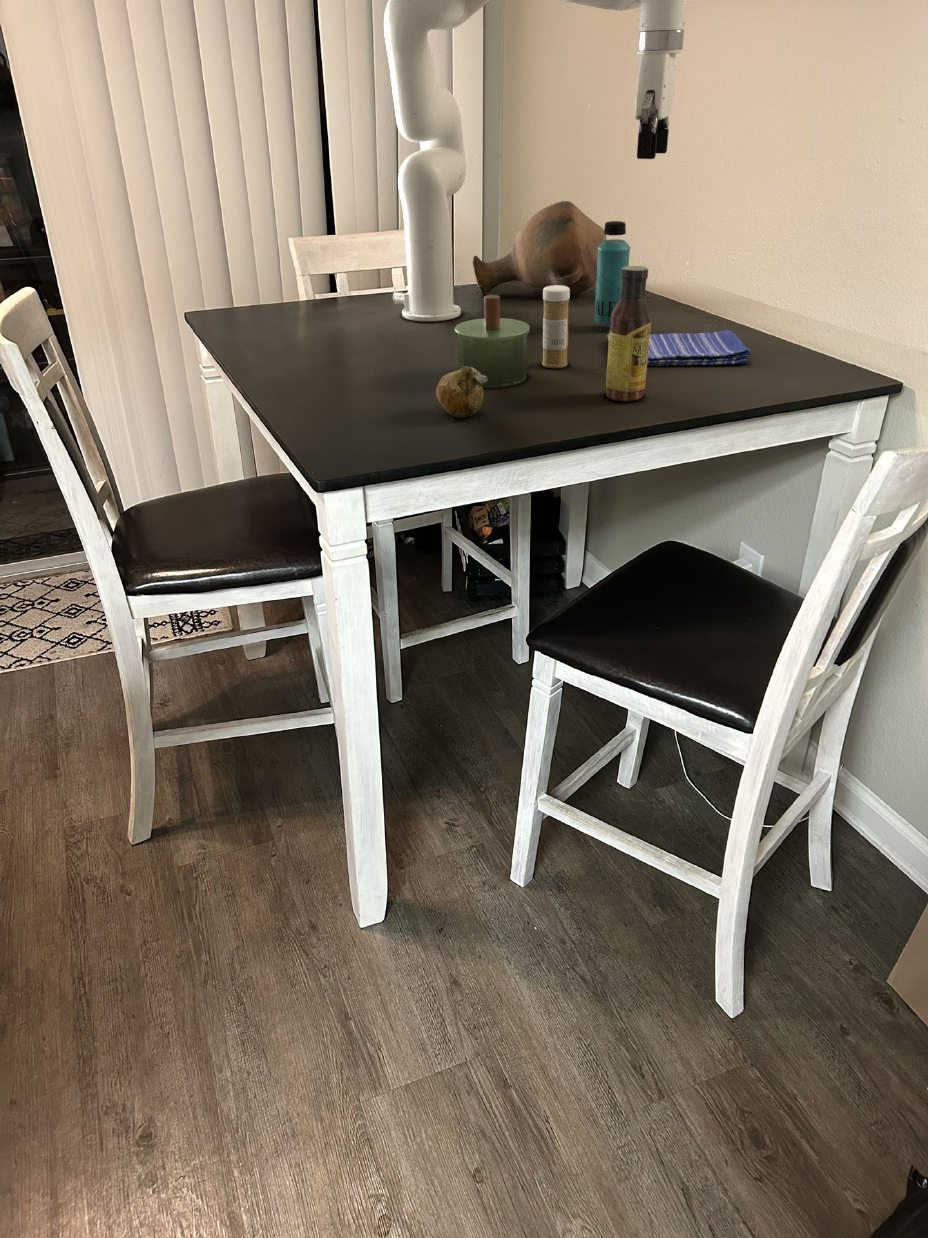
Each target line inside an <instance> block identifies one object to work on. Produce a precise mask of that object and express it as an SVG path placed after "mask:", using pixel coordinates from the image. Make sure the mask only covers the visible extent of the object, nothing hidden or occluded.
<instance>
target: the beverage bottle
mask: <svg viewBox="0 0 928 1238" xmlns="http://www.w3.org/2000/svg"><path fill="white" fill-rule="evenodd" d="M626 225H627V224H626V222H624V221H619V220H612V221H610V220H609V221H606V222H605V223H604V228H603V229H604V234H605V235H606V236H623V235H626V234H627V230H626V229H627V228H626ZM630 253H631V246H630V244H629V243H628V242H627V241H626V240H624V239H616V238H612V239H611V238H610V239H606V240H604V241H603V242H602V243H601V244H600V245H599V246H598V260H597V264H596V265H597V268H596V272H597V274H596V276H597V277H596V281H595V290H594V293H595V297H594V305H593V312H594V314H593V320H594V322H595V323H596V324H599V325H603V326H611V316H612V312H613V310H614V308H615V306H616V305H617V304H618V302H619V300H620V298H621V297H620V293H621V283H622V279H621V268H623V267H626V266H630Z"/></svg>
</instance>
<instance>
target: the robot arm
mask: <svg viewBox="0 0 928 1238" xmlns="http://www.w3.org/2000/svg"><path fill="white" fill-rule="evenodd" d="M490 1H491V0H388V1H387V3H386V7H385V10H384V16H383V31H384V41H385V46H386V52H387V59H388V65H389V73H390V83H391V90H392V91H391V92H392V98H393V105H394V112H395V121H396V126H397V129H398V131H399V133H400V135H401V136H402V137H403V138H404V139H405V140H407V141H408V142H411V143H419V146H420V150H418V151H415V152H412V153H411V154H410V155H408V156H407V157H406V158H405V159H404V161H403V162H402V163H401V165H400V168H399V172H398V176H397V177H398V178H397V184H398V193H399V197H400V202H401V207H402V213H403V223H404V239H405V255H406V274H407V275H406V276H407V292H406V293H403V292H393V294H392V301H393V304H396V305H403V306H404V307H403V308H402V311H401V314H402V315H401V316H402V317H403V318H404V319H406V320H410V321H414V322H425V323H426V322H427V323H429V322H432V323H433V322H442V321H449V320H453V319H456V318H458V317H460V316H461V314H462V310H461V309H462V308H461V307H460V306H459V305H457V304H454V272H453V241H452V240H453V239H452V238H453V237H452V222H451V221H452V220H451V214H450V209H449V206H448V205H449V204H448V200H447V198H449V197H451V196H453V195H455V194H456V193H458V192H459V191H460V190H461V188H462V187H463V185H464V183H465V180H466V176H467V175H466V173H467V165H466V163H467V162H466V155H465V153H466V152H465V143H464V135H463V134H464V133H463V124H462V116H461V111H460V108H459V104H458V102H457V100H456V98H455V97H454V95H453V94H452V92H451V91H450V90H449V89H447V88H446V87H443V86H441V85H438V83H437V79H436V68H435V59H434V55H433V51H432V47H431V45H430V43H429V37H428V35H429V32H430V31H431V30H435V31H448V30H453V29H456V28H458V27H459V26H461V25H463V24H464V23H465V22H466V21H468V20H469V19H470V18H471V17H472V16H474V15H475V14H476V13H477V12H478V11H480V10H481V8H483V7H484V6H485V5H487V4H488V2H490ZM559 1H561V2H566V3H570V4H571V3H572V4H577V5H583V6H588V7H593V8H596V9H601V10H602V9H603V10H609V11H610V10H611V11H622V12H623V11H628V10H629V11H630V10H633V9H637V8H639V9H640V11H639V24H638V25H639V26H638V41H637V55H641V56H640V60H639V67H638V74H637V75H638V76H637V83H636V94H635V103H634V112H633V114H634V115H633V116H634V119H635V120H636V121H639V126H638V134H637V147H636V158H637V159H638V160H654V159H655V158H656V156H657V154H666V153H667V151H668V142H669V126H670V120H669V117H670V116H671V114H672V110H673V105H674V93H675V81H676V80H675V79H676V67H677V66H676V62H677V54H683V49H684V35H685V26H686V25H685V23H686V11H687V1H688V0H559Z"/></svg>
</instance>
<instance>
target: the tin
mask: <svg viewBox="0 0 928 1238" xmlns="http://www.w3.org/2000/svg"><path fill="white" fill-rule="evenodd" d="M457 347H458V348H457V349H458V351H457V352H458V353H457V354H458V370H461V369H462V368H461V366H468V367H473V368H474V369H475V370H477V371H478V372H479V373H480V374H481V375H483V376H486V377H487V378H488V380H487V382H485V383H484V384H483V385H482V384H479V383H478V384H479V386H482V388H483V389H503V388H510V387H514V386H517V385H520V384H522V383H524V382H525V381H526V379H527V375H528V374H527V373H528V334H526V335H525V336H522V337H519V338H515V339H510V340H502V341H478V340H470V339H466V338H462V337H460V336H458V335H457Z"/></svg>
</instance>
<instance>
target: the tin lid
mask: <svg viewBox="0 0 928 1238" xmlns="http://www.w3.org/2000/svg"><path fill="white" fill-rule="evenodd" d="M483 305H484V307H483V308H484V309H483V310H484V311H483V312H484V313H483V314H484V315H483V316H484V317H483V318H475V319H470V320H466V321H463V322H460V323H458V324H456V325H455V327H454V333H455V335H456V336H457V337H458V336H460V337H462V338H466V339H470V340H478V341H502V340H510V339H515V338H519V337H522V336H525V335H526V334H527V335H528V334H529V333H530V331H531V327H530V325H529V324H528V323H527V322H525V321H522V320H518V319H513V318H507V317H505V318H504V317H501V296H500V295H497V294H487V295H486V296H483Z"/></svg>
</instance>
